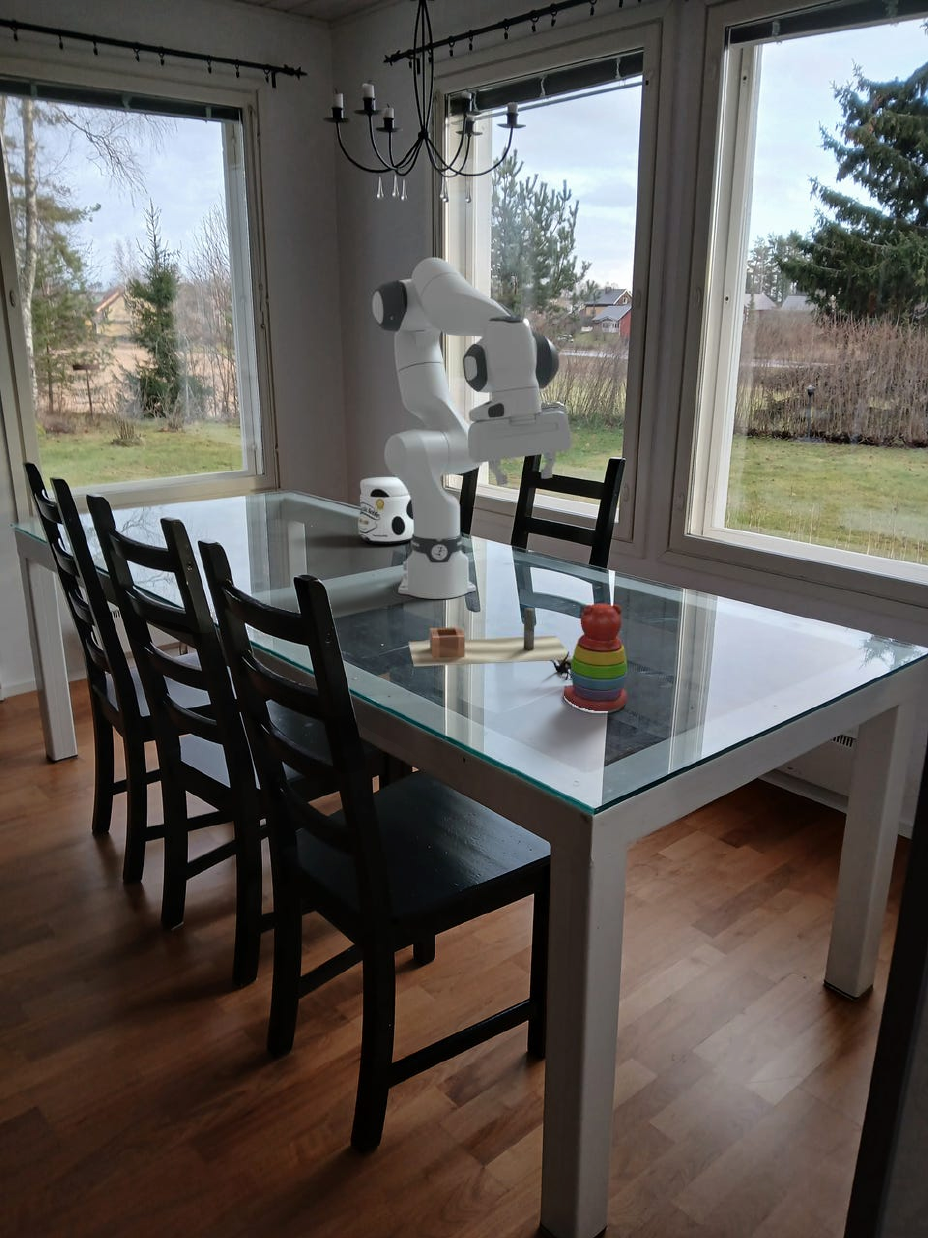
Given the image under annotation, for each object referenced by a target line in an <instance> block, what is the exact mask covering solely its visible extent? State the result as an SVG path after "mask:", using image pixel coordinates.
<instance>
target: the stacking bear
mask: <svg viewBox="0 0 928 1238" xmlns="http://www.w3.org/2000/svg"><path fill="white" fill-rule="evenodd" d="M622 610H623V609H622V607H621V606H620V605H619V604H613V605H611V604H608V603H595V604H592V605H591V604H588V605H586V606H584V608H583V609H582V614H581V616H580V626H581V629H582V630H581V631H582V632H583V634H582V635H581V636H580V637H579V638H578V640H577V643H576V645H575V648H574V652H573V656H572V657H571V658H572V662H571V673H570V674H571V677H572V679H571V680H572V682H571V683H572V685H568V686H566V687H567V688H566V687H564V690H563V693H564V696H565V698H566V699H567V700H568V701H569V702H571V703H572V704H574V705H576V706H578V707H579V708H585V709H588V710H594V711H609V710H614V709H618V708H621V707H623V706H624V704H625V703H626V704H627V702H626V701H628V700H627V699H628V697H627V692H626V690H625V689H624V684H625V683H626V680H627V679H626V678H627V675H628V673H627V672H628V662H627V661H628V660H627V658H626V655H627V654H626V650H625V646H624V645H623V643H622V640H621V639H620V637H619V636H618V634H619V632H620V631H621V627H622V617H621V614H622ZM571 677H570V678H571ZM564 696H563V697H564ZM626 704H625V705H626ZM623 708H624V707H623Z"/></svg>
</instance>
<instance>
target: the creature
mask: <svg viewBox="0 0 928 1238" xmlns="http://www.w3.org/2000/svg"><path fill="white" fill-rule="evenodd" d="M567 653H568V654H567V656H566V657H565V658H564V660H563V661H562V663H561V664H560V665H557V663H556V662H555V660H549V661H550V662H552V664H553V667H554V669H555V671H556V672H557V673H560V675H561V676H562V675H563V674H565V675H566V677H565V679H564V680H565V681H566V680H567V679H568V678H570V679H571V678H572V677H571V663H570V662H568V661H565V660H566V659H567V657H568V655H570V651H568V650H567ZM565 664H567V665H568V666H569V667H566V666H565ZM569 670H570V671H569ZM569 676H570V677H569ZM567 687H568V686H566V685H564V688H567Z"/></svg>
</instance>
